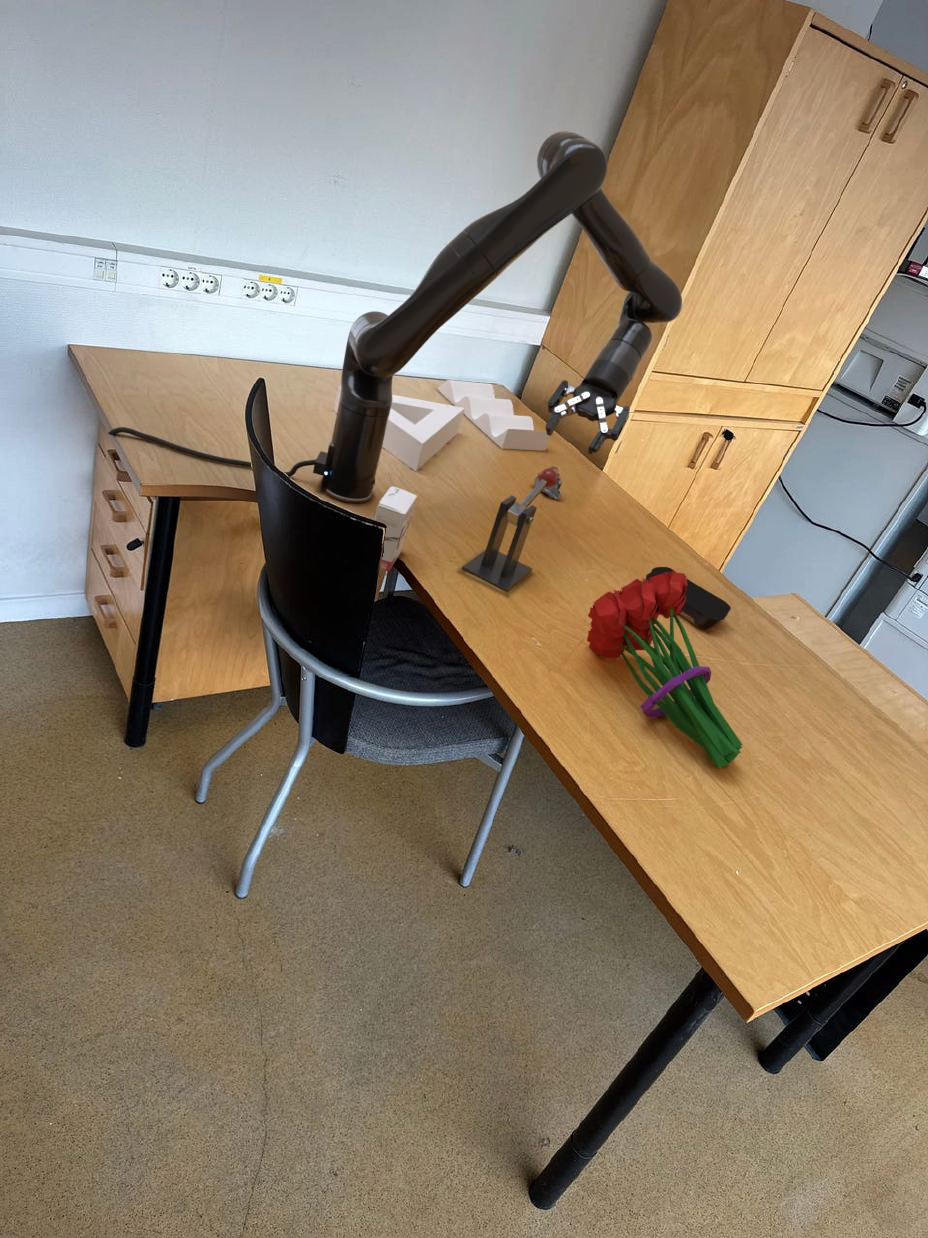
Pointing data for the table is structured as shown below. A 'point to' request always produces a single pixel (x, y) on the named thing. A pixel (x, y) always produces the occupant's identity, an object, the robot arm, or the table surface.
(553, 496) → the crumpled paper
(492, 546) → the bracket
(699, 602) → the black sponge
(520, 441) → the file organizer
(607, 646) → the bouquet
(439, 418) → the triangle block
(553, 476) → the lever
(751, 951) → the table surface
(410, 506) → the ink box
